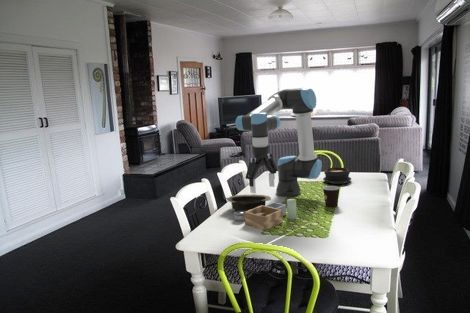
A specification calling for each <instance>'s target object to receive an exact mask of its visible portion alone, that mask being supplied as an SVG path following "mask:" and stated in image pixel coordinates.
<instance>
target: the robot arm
mask: <svg viewBox="0 0 470 313" xmlns="http://www.w3.org/2000/svg"><path fill="white" fill-rule="evenodd" d="M316 106H317V97H316V93H315V91H314V90H313V89H312V88H310V87H296V88H295V87H294V88H286V89H282V90H280V91H277V92H276V93H275V92H274V94H272V95H270V96H269V97H268V98H267V100H266V101H265V102H263V103H262V104H260V105H259V106H258V107H256V108H255V109H253V110H252V111H250V112H248V114H246V115H238V116H237V117H236V118H235V127H236V129H237V130H238V131H243V132H246V131H247V132H248V131H251V138H252V141H251V143H252V154H253V156H254V157H249V160H248V162H249V163H248V167H247V169H246V170H247V171H246V174H245V179H246V180H248V183H249V184H248V185H249V190H250V193H251V194H257V193H256V178H255V177H256V175H257V173H258V170H259V169H260V168H261V167H262V166H264V167H265V168H266V169H267V171H269V172H268V185H269V186H268V187H272V188H274V187H275V178H276V177H275V174H277V176H278V182H277V185H276V190H275V191H276V192H275V194H276V195H277V196H280V197H294V196H295V197H296V196H299V195H300V194H301V187H300V185H299V180H298V179H308V180H317V179H318V178H319V177H320V175H321V172H322V167H323V164H322V162H323V161H322V160H321V159H318V155H317V154H316V153H315V147H314V146H315V145H314V135H313V124H312V114H313V112H314V110H315V108H316ZM281 110H292V114H293V115H295V122H296V123H295V124H296V132H297V141H298V151H299V153H298V156H297V155H287V156H286V155H285V156H283V157H280V158H278V159H277V164H276V163H275V161H274V157H273V154H272V153H270V150H269V149H270V146H269V132H271V131H275V130H278V128H280V126H281V118H280V117H279V116H278V115H276V114H274V113H275V112H276V113H277V112H279V111H281Z"/></svg>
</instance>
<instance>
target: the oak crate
mask: <svg viewBox="0 0 470 313" xmlns="http://www.w3.org/2000/svg"><path fill="white" fill-rule="evenodd" d="M257 212H259V213H263V214H264V216H261V215H257V214H255V213H257ZM244 215H245V221H244V225H246V226H249V227H254V228H255V229H256V228H257V229H260V230H263V231H266V230H268V229H270V228H273V227H275V226H277V225H280V224H281V223H284V222H283V220H284V219H283V218H284V216H283V215H282V210H281V209H276V208H272V207H267V206H263V205H261V206H259V207H256V208H254V209H251V210H248V211H246V212H244Z"/></svg>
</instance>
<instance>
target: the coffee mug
mask: <svg viewBox="0 0 470 313" xmlns="http://www.w3.org/2000/svg"><path fill="white" fill-rule="evenodd" d="M322 190H323V191H322V192H323V197H324V204H325V207H327V208H330V207H331V209H332V208H338V205H339V195H340V187H339V186H336V185H326V186H323V187H322Z"/></svg>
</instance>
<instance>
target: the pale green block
mask: <svg viewBox="0 0 470 313" xmlns="http://www.w3.org/2000/svg"><path fill="white" fill-rule="evenodd" d="M286 215H287V219H288V220H296V219H297V218H298V217H297V200H296V199H295V198H289V199H286Z"/></svg>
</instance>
